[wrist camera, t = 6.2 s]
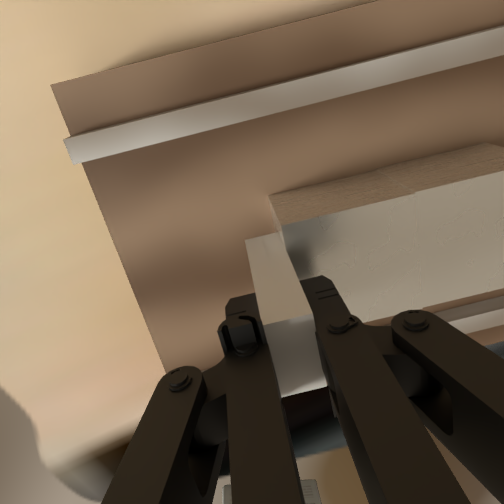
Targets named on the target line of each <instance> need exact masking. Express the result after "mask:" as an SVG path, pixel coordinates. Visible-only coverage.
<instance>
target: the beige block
mask: <svg viewBox="0 0 504 504" xmlns="http://www.w3.org/2000/svg"><path fill="white" fill-rule="evenodd" d="M376 170H377V171H379V172H380V173H382V174H384V175H385V176H387V177H389V178H390V179H392V180H394V181H395V182H397V183H399V184H400V185H402V186H404V187H405V188H407V189H409V190H410V191H412V192H414V193H415V197H416V212H417V228H418V243H419V259H420V275H421V290H422V306H423V307H427V306H431V305H436V304H440V303H444V302H448V301H452V300H456V299H460V298H465V297H469V296H473V295H477V294H481V293H485V292H490V291H494V290H498V289H502V288H504V147H500V146H497V145H493V144H489V143H485V142H483V143H479V144H475V145H471V146H467V147H463V148H459V149H454V150H450V151H446V152H442V153H438V154H434V155H430V156H425V157H421V158H417V159H413V160H409V161H405V162H401V163H397V164H392V165H388V166H384V167H380V168H376Z"/></svg>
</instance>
